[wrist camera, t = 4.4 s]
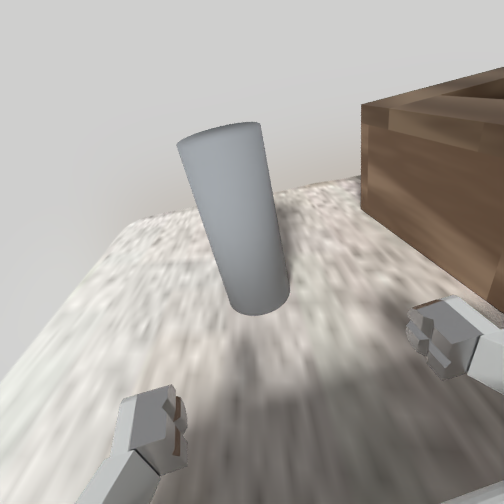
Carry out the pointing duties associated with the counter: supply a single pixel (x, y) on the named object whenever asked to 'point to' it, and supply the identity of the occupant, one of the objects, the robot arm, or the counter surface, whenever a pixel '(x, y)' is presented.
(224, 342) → the counter surface
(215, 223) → the grey rubber peg
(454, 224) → the walnut drop box
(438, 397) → the counter surface
